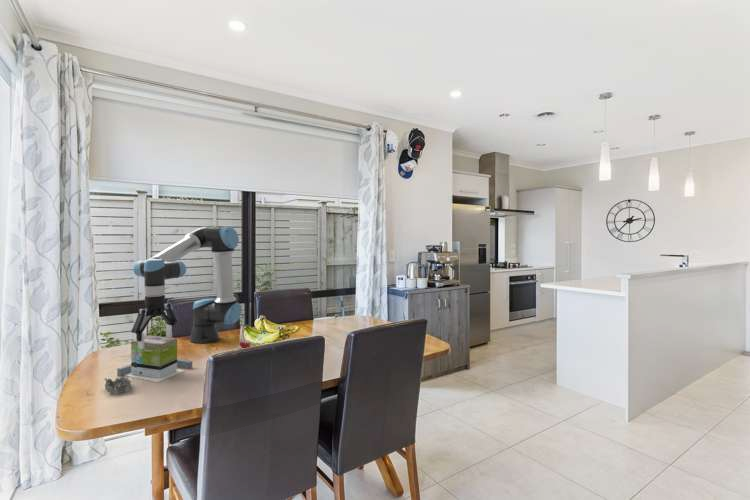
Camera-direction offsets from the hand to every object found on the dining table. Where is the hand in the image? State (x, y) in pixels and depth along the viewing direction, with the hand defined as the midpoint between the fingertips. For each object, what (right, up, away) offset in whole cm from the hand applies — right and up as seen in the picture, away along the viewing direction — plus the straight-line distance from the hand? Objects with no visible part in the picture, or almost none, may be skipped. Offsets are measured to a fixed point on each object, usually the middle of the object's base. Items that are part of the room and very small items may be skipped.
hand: (155, 343), depth 164 cm
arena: (-1, -13, +2) cm, 13 cm away
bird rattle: (+33, -13, +14) cm, 38 cm away
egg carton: (-5, -14, -17) cm, 22 cm away
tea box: (-1, -13, 0) cm, 13 cm away
